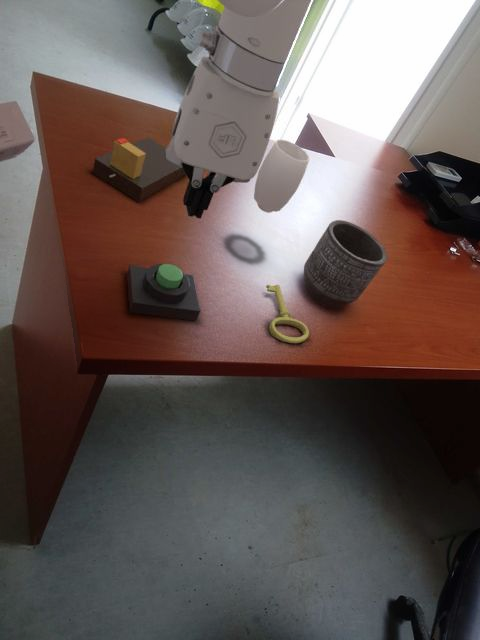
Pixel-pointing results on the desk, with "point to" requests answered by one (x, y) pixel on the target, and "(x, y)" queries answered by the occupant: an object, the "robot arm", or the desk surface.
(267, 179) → the cup
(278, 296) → the key
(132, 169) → the block
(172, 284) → the button
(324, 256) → the planter
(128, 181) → the plate
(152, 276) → the button box
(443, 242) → the desk surface
